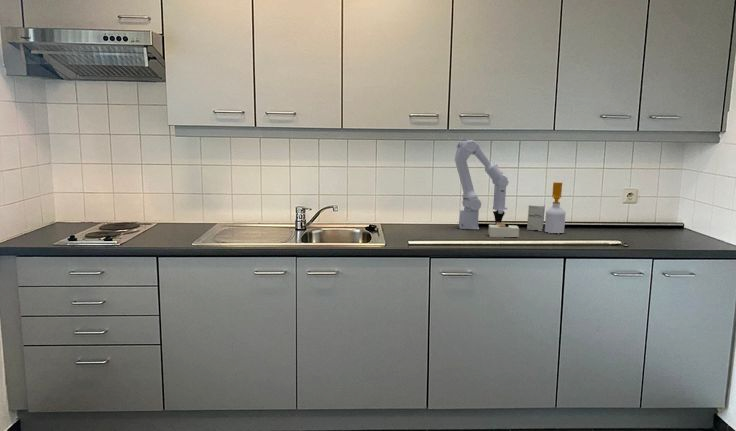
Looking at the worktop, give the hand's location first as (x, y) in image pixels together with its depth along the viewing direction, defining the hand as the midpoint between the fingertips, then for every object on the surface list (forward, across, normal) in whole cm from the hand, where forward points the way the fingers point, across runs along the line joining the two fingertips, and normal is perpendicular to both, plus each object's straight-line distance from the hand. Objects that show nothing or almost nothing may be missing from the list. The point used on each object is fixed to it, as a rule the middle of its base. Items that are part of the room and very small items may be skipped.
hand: (498, 225), depth 278 cm
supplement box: (+1, -2, -18) cm, 18 cm away
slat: (+1, -12, 0) cm, 12 cm away
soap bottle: (+1, -8, -26) cm, 27 cm away
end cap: (+1, -21, 0) cm, 21 cm away
